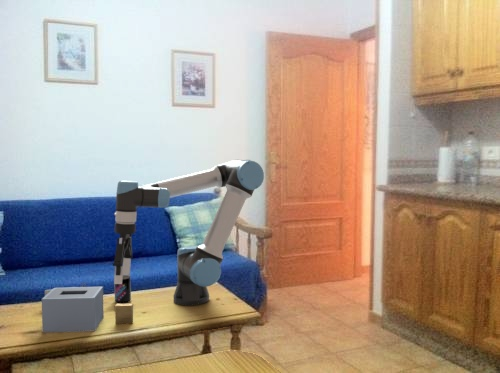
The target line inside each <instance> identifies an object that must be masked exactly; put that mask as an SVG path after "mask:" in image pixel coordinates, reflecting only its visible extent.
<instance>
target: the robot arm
mask: <svg viewBox="0 0 500 373" xmlns="http://www.w3.org/2000/svg"><path fill="white" fill-rule="evenodd" d="M264 179H265V172H264V170H263V167H262V165H261V164H260V163H258V162H257V161H255V160H251V159H233V160H230V161H228V162H224V163H219V164H217V165H214V166H213V167H211V169H207V170H202V171H199V172H193V173H191V174H187V175H182V176H177V177H174V178H169V179H166V180H165V179H164V180H162V181H157V182H154V183H153V182H152V183H149V184H144V183H143V184H140V185H139V183H138V181H136V180H135V181H134V180H120V181H118V182H117V186H116V192H115V193H116V199H115V201H116V202H115V203H116V204H115V212H114V213H113V215H114V216H115V219H114V221H115V223H114V233H115V234H117V235H119V237H117V239H116V248H115V252H114V254H115V255H114V260H113V263H112V266H113V267H114V278H113V284H122V278H123V275H128V276H131V264H132V263H131V262H132V261H131V260H132V259H133V258H134V255H133V245H132V244H133V243H132V242H133V240H132V236H133V235H134V234H135V233H136V228H137V227H136V226H137V224H136V222H137V213H138V212H137V211H138V208H139V207H140V208H159V209H160V208H167V207H168V206H169V205H170V200H171V198H175V197H178V196H183V195H187V194H191V193H194V192H195V193H196V192H199V191H202V190H207V189H210V188H214V187H217V188H218V189H220V188H223V187H224V188H225V189H226V192H225V194H224V196H223V198H222V200H221V203H220V205H219V208H218V210H217V211H216V214H215V215H214V218H213V219H212V222H211V224H210V226H209V228H208V231H207V233H206V236H205V237H204V240H203V242H202V244H200V245H197V246H185V247H180V248H178V249H177V253H176V254H177V255H176V257H177V258H176V259H177V261H176V262H177V267H176V268H177V284H176V286H175V290H174V293H173V302H174V303H175V304H176V305H179V306H198V305H200V306H201V305H203V304H207V303H208V302H209V301H210V293H209V290H208V287H211V286H212V285H214V284H216V283H217V282H218V281H219V279H220V278H221V275H222V267H221V264H222V263H223V260H224V256H223V251H224V249H225V245H226V244H227V242H228V239H229V237H230V235H231V234H232V231H233V229H234V226H235V224H236V222H237V221H238V217H240V216H239V215H240V213H241V211H242V209H243V206H244V205H245V203H246V200H247V199H249V198H250V199H251V198H252V197H253V193H254V192H255V190H257V189H259V188H260V186H262V184H263V182H264Z"/></svg>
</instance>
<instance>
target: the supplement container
mask: <svg viewBox="0 0 500 373" xmlns="http://www.w3.org/2000/svg"><path fill="white" fill-rule="evenodd" d="M131 280H132V279H131V275H123V278H122V284H114V283H113V284H114V302H115V303H116V304H129V303H131V300H132V296H131V295H132V292H131V291H132V287H131V286H132V285H131V284H132V283H131Z"/></svg>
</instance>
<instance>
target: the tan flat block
mask: <svg viewBox="0 0 500 373" xmlns="http://www.w3.org/2000/svg"><path fill="white" fill-rule="evenodd" d="M114 309H115V310H114V313H115V314H114V316H115V320H114V321H115V325H118V326H119V325H133V323H134V303H131V302H129V303H122V304H120V303H116V304H115V306H114Z"/></svg>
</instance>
